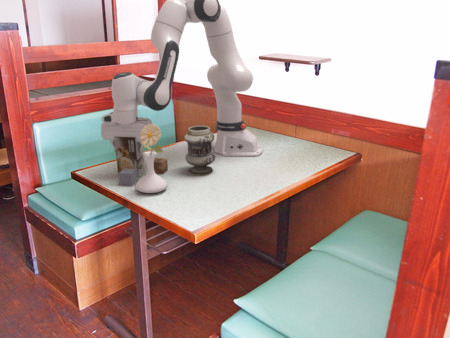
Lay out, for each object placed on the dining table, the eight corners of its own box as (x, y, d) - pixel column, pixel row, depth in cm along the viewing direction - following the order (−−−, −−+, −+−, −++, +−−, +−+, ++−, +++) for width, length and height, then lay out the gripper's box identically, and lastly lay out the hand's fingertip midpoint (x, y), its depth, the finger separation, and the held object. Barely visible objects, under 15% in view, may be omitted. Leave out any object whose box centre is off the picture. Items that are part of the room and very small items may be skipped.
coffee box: (145, 172, 167) (142, 133, 162) (138, 177, 162) (135, 138, 156) (124, 170, 169) (121, 132, 164) (117, 176, 164) (113, 136, 158)
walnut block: (167, 170, 170) (167, 158, 168) (163, 174, 165) (162, 162, 163) (156, 169, 171) (155, 157, 169) (151, 173, 166) (150, 161, 164)
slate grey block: (137, 181, 158) (136, 169, 157) (132, 186, 154) (131, 173, 152) (125, 180, 159) (124, 168, 158) (120, 185, 155) (118, 172, 153)
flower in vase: (129, 189, 151) (123, 122, 142) (155, 181, 158) (151, 116, 149) (150, 200, 142) (145, 129, 133) (177, 191, 149) (173, 122, 141)
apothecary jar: (193, 164, 176) (191, 122, 170) (219, 167, 172) (219, 125, 166) (180, 174, 165) (178, 130, 159) (208, 177, 161) (207, 132, 155)
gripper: (155, 116, 158) (156, 151, 163) (105, 113, 162) (108, 147, 167) (148, 119, 152) (150, 156, 157) (97, 117, 156) (100, 152, 161)
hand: (128, 151), depth 162 cm, fingers closed on coffee box, 8 cm apart
